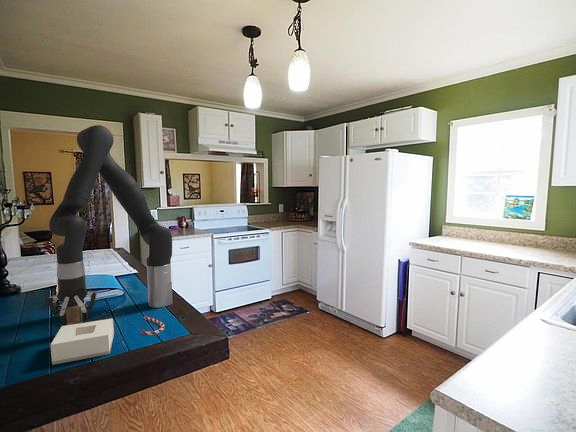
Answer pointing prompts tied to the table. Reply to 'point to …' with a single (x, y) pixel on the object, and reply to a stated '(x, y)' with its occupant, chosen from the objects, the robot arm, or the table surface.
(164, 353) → the table surface
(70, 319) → the peg
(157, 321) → the candy cane
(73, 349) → the socket block
